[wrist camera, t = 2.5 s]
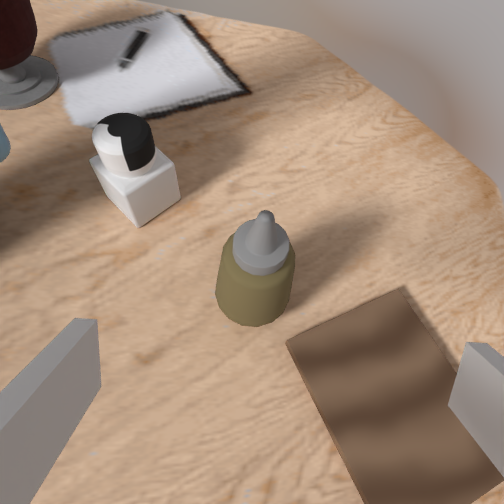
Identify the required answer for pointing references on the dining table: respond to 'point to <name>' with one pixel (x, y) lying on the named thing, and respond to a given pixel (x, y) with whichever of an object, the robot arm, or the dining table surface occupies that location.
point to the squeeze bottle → (256, 272)
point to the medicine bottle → (133, 168)
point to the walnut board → (392, 406)
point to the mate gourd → (22, 59)
